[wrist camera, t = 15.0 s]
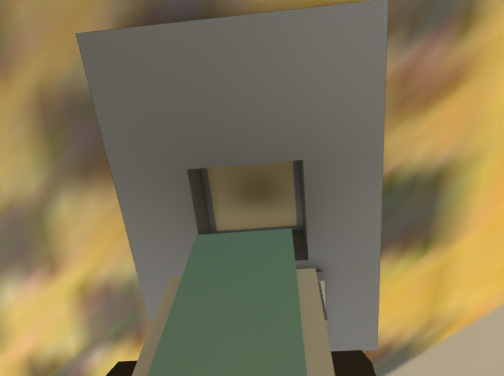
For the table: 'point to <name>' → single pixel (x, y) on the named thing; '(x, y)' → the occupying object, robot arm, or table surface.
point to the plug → (235, 310)
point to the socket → (252, 143)
